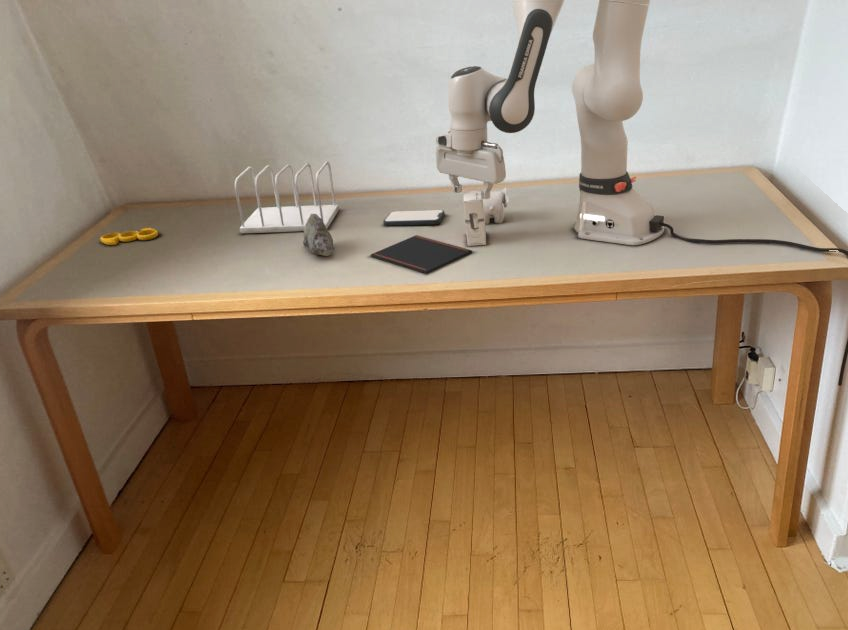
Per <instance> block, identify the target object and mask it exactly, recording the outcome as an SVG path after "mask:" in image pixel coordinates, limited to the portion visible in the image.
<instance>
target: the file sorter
mask: <svg viewBox="0 0 848 630" xmlns="http://www.w3.org/2000/svg"><path fill="white" fill-rule="evenodd" d="M292 167H293V166H292V165H291V164H290V163H287V164H286V165H285V166H284V167H283V168H281V170H279V171H278V172H277V173H276V174H275V177H274V173H273V168H272V166H271V164H267V165H266V166H264V167H263V168H262V169H261V170H260V171H259V173H258V174H255V170H254V168H253V167H252V166H248V167H246V169H244V170H243V171H242V172H241V173H240V174H239V175H238V176H237V177H236V178H235V180H234V192H235V197H236V202H237V207H238V212H239V217H240V222H241V226H240V227H239V233H240V234H264V233H265V234H267V233H268V234H269V233H291V232H304V228H305V224H306V223H307V220H308V218H309V217H310V214H317V215H318V216H319V217H320V218H321V219H322V220H323V222H324V225H325V227H326V229H327V230H328V228H329V226H330V225H331V223H332V222H333V220H334V218H335V217H336V216H337V213H338V212H339V211H340V206H339V204H337V203H336V198H335V190H334V182H333V175H332V174H333V173H332V168H331V164H330V162H329V161H328V160H327V161H325V162H324V163H323V164H322V166H321V167H320V168H319V169H318V170H317V171H316V174H315V182H314V177H313V176H314V175H313V171H312V166H311V164H310V163H308V162H307V163H305V164H304V165H303V166H302V167H301V168H300V169H299V170H298V171H297V172H296V173H295V176H294V172H293V168H292ZM307 167H308V170H309V177H310V185H311V190H312V198H313V204H314V205H312V204H311V205H310V204H309V205H301V199H300V193H299V186H298V177H299V175H300V174H301V173H302V172H303V171H304V170H305V169H306V168H307ZM325 167H327V168H328V175H329V180H330V181H329V182H330V190H331V197H332V204H322V201H321V194H320V187H319V185H320V184H319V177H320V176H319V175H320V174H321V173H322V171H323V170H324V169H325ZM288 168H289V172H290V177H291V182H292V183H291V184H292V191H293V197H294V202H295V205H288V206H287V205H286V206H282V204H281V198H280V193H279V185H278V178H279V176H280V175H282V174H283V172H285V170H287V169H288ZM267 169H269V172H270V178H271V183H272V186H273V192H274V197H275V198H274V199H275V203H276V206H267V207H265V206H264V207H262V203H261V197H260V191H259V186H258V185H259V184H258V180H259V177H260V176H262V174H264V172H265V171H267ZM249 170H250V171H251V174H252V179H253V185H254V190H255V195H256V201H257V206H258V207H257V208H256V209H255V210H254V211H253V212H252V214H251V215H250V216H249V217H248V218H247V219H246V220H244V216H243V210H242V207H241V206H242V205H241V201H240V196H239V190H238V183H239V182H238V181H239V180H240V179H241V178H242V177H243V176H244V175H245V174H246V173H248V171H249ZM314 183H315V184H314ZM315 186H316V187H315ZM315 188H316V191H315ZM316 193H317V198H316ZM317 200H318V204H317Z"/></svg>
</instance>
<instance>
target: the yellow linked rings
mask: <svg viewBox="0 0 848 630" xmlns="http://www.w3.org/2000/svg"><path fill="white" fill-rule="evenodd" d="M158 236H159V231H158V230H157V229H154V228H153V227H143V228H141V229H140V230H139V231H137V230H129V231H125V232H122V233H120V232H109V233H106V234H103V235H102V236H100V238H99V239H100V242H101V243H102V244H104V245H107V246H117V244H119V243H120V242H122V243H129V242H134V241H137V240H139V241H150V240H154V239H156V238H157V237H158Z"/></svg>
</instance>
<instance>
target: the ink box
mask: <svg viewBox="0 0 848 630" xmlns="http://www.w3.org/2000/svg"><path fill="white" fill-rule="evenodd" d="M482 191H483V190H482V189H473V190H469V191H463V210H464V211H463V212H464V223H465V234H466V242H467V246H468V247H474V246H486V245H487V233H486V231H487V230H486V224H485V217H484V207H483V198H481V192H482Z"/></svg>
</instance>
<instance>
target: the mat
mask: <svg viewBox="0 0 848 630" xmlns="http://www.w3.org/2000/svg"><path fill="white" fill-rule="evenodd" d="M472 253H473V250H472V249H470V248H469V249H468V248H465V247H461V246H457V245H453V244H450V243H446V242H443V241H438V240H435V239H431V238H428V237H424V236H420V235H413V236H411V237H408V238H407V239H404V240H402V241H398V242H397V243H394V244H392V245H390V246H387V247H385V248H383V249H380V250H378V251H375V252H372V253H371V254H370V257H371V258H375V259H377V260H380V261H384V262H387V263H390V264H393V265H397V266H399V267H403V268H406V269H409V270H413V271H416V272H419V273H422V274H425V275H427V274H429V273H432V272H434V271H436V270H438V269H440V268H442V267H444V266H447V265H449V264H450V263H453V262H455V261H457V260H459V259H462V258H463V257H466V256H468V255H470V254H472Z"/></svg>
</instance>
